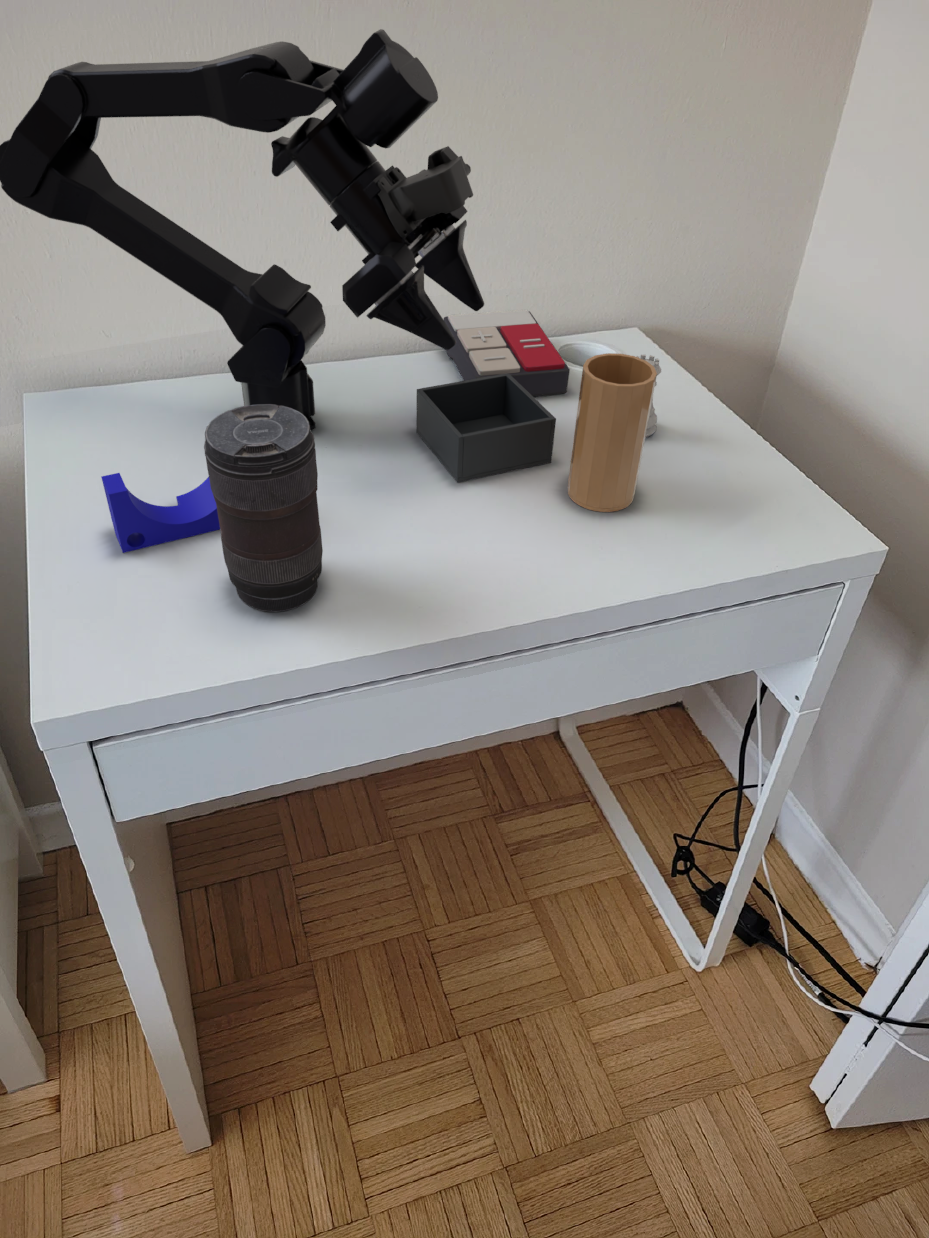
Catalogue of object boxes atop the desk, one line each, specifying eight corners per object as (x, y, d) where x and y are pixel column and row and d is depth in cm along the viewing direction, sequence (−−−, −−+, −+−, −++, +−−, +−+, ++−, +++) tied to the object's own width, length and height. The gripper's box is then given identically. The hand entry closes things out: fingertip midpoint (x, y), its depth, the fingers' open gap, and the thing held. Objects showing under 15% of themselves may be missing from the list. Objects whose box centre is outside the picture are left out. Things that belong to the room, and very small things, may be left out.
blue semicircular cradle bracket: (242, 495, 89) (234, 439, 86) (257, 520, 86) (250, 463, 83) (111, 525, 85) (97, 467, 81) (122, 553, 82) (108, 494, 78)
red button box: (476, 372, 103) (442, 310, 113) (474, 407, 106) (441, 343, 116) (572, 364, 105) (530, 303, 116) (567, 398, 108) (526, 336, 119)
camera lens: (221, 566, 81) (196, 408, 71) (315, 552, 83) (303, 396, 73) (233, 626, 75) (207, 462, 66) (334, 609, 77) (323, 448, 68)
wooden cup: (588, 517, 89) (607, 391, 81) (555, 483, 93) (570, 359, 85) (646, 504, 91) (670, 379, 83) (611, 470, 95) (631, 349, 87)
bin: (457, 483, 93) (458, 437, 89) (416, 432, 100) (416, 389, 97) (551, 462, 96) (556, 418, 93) (505, 415, 103) (508, 372, 100)
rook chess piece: (631, 415, 104) (643, 346, 99) (664, 430, 102) (677, 361, 97) (605, 428, 102) (616, 358, 97) (638, 444, 100) (651, 374, 94)
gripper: (376, 149, 71) (506, 316, 76) (450, 97, 85) (556, 242, 90) (286, 239, 78) (411, 387, 83) (369, 178, 91) (471, 308, 97)
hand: (467, 326), depth 88 cm, fingers open, 9 cm apart
